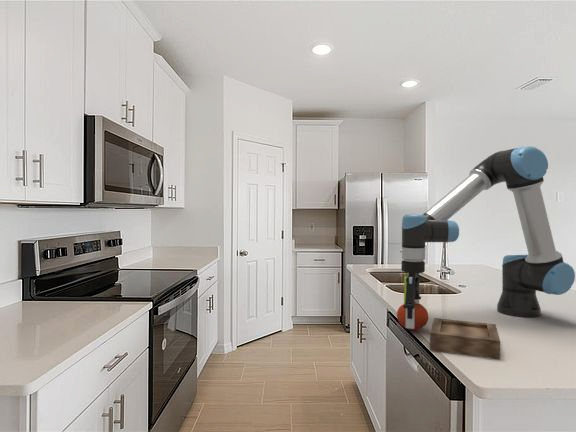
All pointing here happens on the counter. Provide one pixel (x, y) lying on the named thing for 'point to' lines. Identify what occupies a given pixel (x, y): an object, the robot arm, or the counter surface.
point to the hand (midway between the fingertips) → (412, 323)
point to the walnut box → (465, 338)
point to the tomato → (420, 316)
